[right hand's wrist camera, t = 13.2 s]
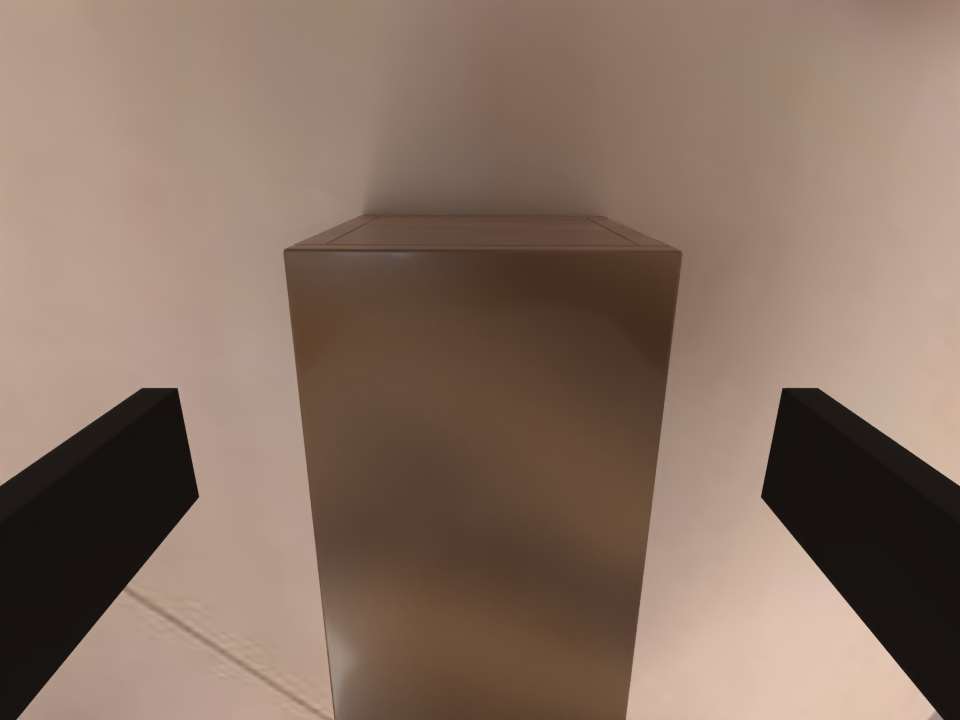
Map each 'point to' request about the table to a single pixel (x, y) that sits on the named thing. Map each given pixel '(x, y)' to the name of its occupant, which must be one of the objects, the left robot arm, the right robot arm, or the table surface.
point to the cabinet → (481, 457)
